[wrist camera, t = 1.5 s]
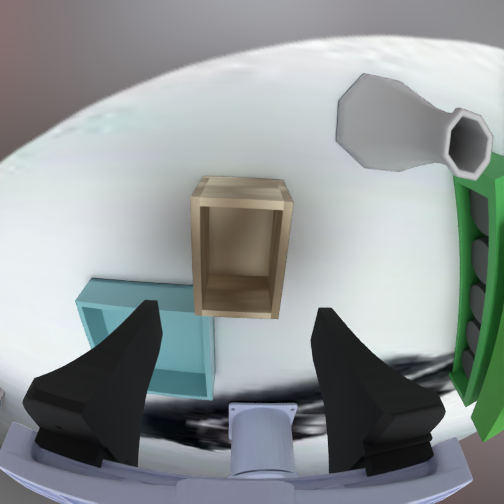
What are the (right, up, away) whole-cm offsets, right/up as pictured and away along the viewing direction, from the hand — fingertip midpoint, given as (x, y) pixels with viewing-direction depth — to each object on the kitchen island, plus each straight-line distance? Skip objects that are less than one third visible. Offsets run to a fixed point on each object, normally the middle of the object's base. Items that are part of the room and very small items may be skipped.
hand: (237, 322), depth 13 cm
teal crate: (-8, -4, +13) cm, 16 cm away
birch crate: (0, +5, +9) cm, 10 cm away
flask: (+10, +12, +5) cm, 17 cm away
